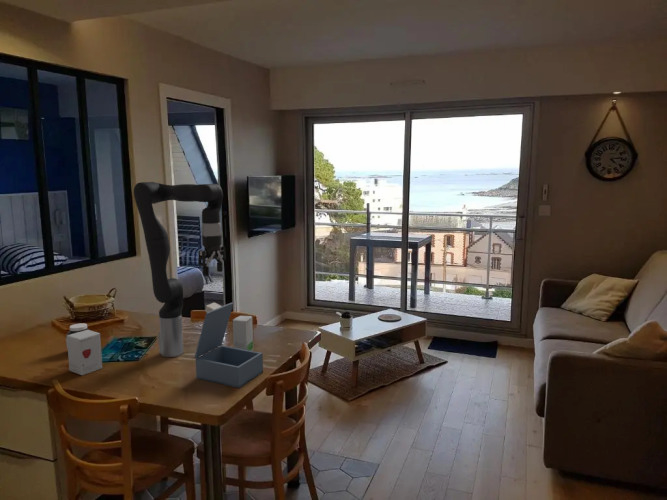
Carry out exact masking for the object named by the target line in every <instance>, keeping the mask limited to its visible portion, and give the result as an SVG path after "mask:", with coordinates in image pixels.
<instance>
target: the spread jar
mask: <svg viewBox="0 0 667 500" xmlns="http://www.w3.org/2000/svg"><path fill="white" fill-rule="evenodd" d="M85 330H90V329H89V328H88V324H87V323H84V322H83V323H80V322H79V323H74V324H71V325H70V326H69V331H68V332H67V334H66V337H65V342H66V343H65V345H66V348H67V350H68V345H67V335H70V334H74V333H77V332H81V331H85Z"/></svg>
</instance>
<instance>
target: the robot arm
mask: <svg viewBox="0 0 667 500" xmlns="http://www.w3.org/2000/svg"><path fill="white" fill-rule="evenodd" d="M133 196H134V201H135V205H136V207H137V211H138V214H139V217H140V220H141V221H140V222H141V226H142V229H143V234H144V241H145V246H146V250H147V254H148V259H149V260H148V261H149V265H150V273H151V281H152V282H151V283H152V290H153V295H154V297H155V299H156V300H157V301H158V302H159V303H161V304H163V305H162V307H161V308H160V309H159V310H158V317H159V318H158V319H159V332H158V350H159V354H160V355H161V356H162V357H165V358H174V357H178V356H181V355H182V354H183V353H184V337H183V333H184V332H183V320H182V319H183V318H182V311H183V309H184V289H183V284H182V283H181V281H180V280H179V279H177V278H174V277H172V278H168V273H167V265H168V262H169V258H170V257H169V256H170V251H171V246H170V245H171V244H170V240H169V235H168V232H167V230H166V229H165V227H164V226H163V225H162V223H161V222H160V220H159V219H158V218H157V216H156V214H155V211H154V207H153V204H158V203H163V202H166V201H167V202H168V201H177V202H185V203H186V202H187V203H188V202H189V203H191V202H192V203H193V202H198V203H207V204H206V205H207V206H206V207H204V208H202V211H201V240H202V246H203V248H204V249H203V250H198V266H201V267H202V274H203V276H204V277H206V276H207V277H208V276H209V275H210V268H209V265H210V263H211V262H212V260H215V262H216V271H217V272H219V273H222V272H223V269H224V268H223V263H224V261H227V254H226V253H227V251H226V246H222V243H223V242H222V227H221V209H222V205H223V201H224V200H223V199H224V193H223V189H222V187H221V186H220V185H219V184H217V183H203V184H202V183H200V184H194V183H192V184H191V183H187V184H186V183H185V184H184V183H182V184H174V185H173V184H172V185H171V184H164V183H160V182H154V181H143V182H137V183H135V185H134V188H133Z"/></svg>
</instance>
